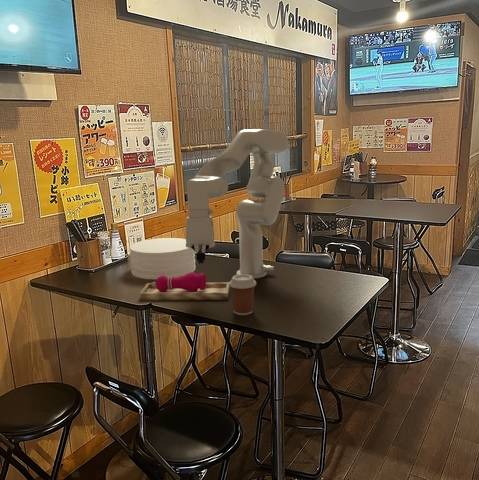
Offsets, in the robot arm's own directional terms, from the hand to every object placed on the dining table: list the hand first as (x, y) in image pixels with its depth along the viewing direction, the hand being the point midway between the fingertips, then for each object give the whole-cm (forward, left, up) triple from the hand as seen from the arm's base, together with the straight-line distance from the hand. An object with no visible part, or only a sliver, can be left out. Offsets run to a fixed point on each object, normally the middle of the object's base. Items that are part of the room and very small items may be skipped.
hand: (201, 262), depth 176 cm
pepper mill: (-1, 0, -7) cm, 7 cm away
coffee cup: (-16, +18, -12) cm, 27 cm away
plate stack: (+21, -33, -13) cm, 41 cm away
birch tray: (+6, 0, -12) cm, 14 cm away
